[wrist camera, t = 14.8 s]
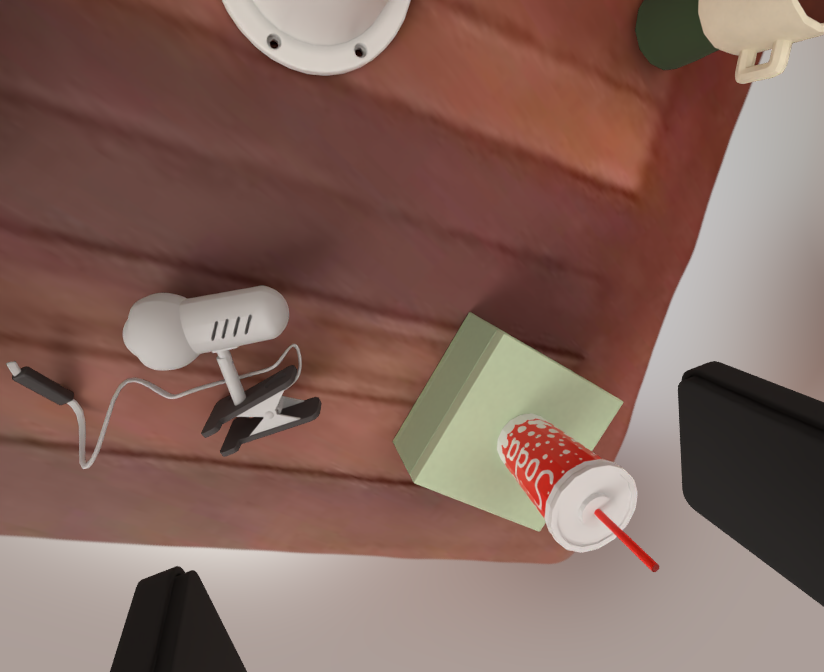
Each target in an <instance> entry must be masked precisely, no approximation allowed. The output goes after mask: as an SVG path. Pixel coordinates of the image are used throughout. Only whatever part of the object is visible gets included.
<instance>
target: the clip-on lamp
mask: <svg viewBox="0 0 824 672" xmlns="http://www.w3.org/2000/svg"><path fill="white" fill-rule="evenodd" d="M288 320H289V309H288V305H287V302H286V301H285V299H284V297H283V296H282V295H281V294H280V293H279V292H278V291H276V290H274V289H272V288H270V287H267V286H263V285H262V286H256V287H251V288H245V289H239V290H234V291H228V292H222V293H217V294H211V295H205V296H200V297H194V298H189V299H187V298H185V297H183V296H180V295H176V294H171V293H156V294H152V295H149V296H147V297H145V298H142V299H140V300H138V301H137V302H136V303H134V305H133V306H132V308H131V309H130V313H129V317H128V320H127V321H126V323H125V325H124V328H123V340H124V343H125V345H126V347H127V348H128V349H129V350H130V351H131V352H132V353H133V354H134V355H136V356H138V358H139V360H140V361H141V362H142V363H143V364H144V365H145V366H147V367H149V368H151V369H155V370H174V369H178V368H182V367H184V366H186V365H188V364H189V363H191V362H192V361H193V360H195V359H196V358H197V357H198V356H199V355H200V354H201V353H206V352H211V351H212V353H216V352H217V354H218V356H217V361H218V364H219V366H220V369H221V371H222V374H223V376H224V380H220V381H217V382H213V383H209V384H206V385H202V386H199V387H196V388H193V389H190V390H187V391H185V392H182V393H180V394H176V395H174V394H171V393H168V392H166V391H165V390H163V389H161V388H160V387H158V386H156V385H154V384H152V383H150V382H148V381H146V380H144V379H140V378H136V377H135V378H128V379H126V380H125V381H124V382H122V383H121V384H120V385H119V387H118V388H117V390H116V392H115V394H114V396H113V398H112V400H111V403H110V406H109V409H108V411H107V414H106V417H105V421H104V424H103V427H102V430H101V433H100V437H99V440H98V443H97V446H96V448H95V450H94V453H93V455H92V457H91V459H90V460H89V461H88V462H86V459H85V439H86V426H85V417H84V413H83V409H82V408H81V406H80V405H79V403H78V402H77V401H76V400H74V399H73V398H74V393H73V392H71V391H70V390H68V389H66V388H64V387H63V386H61V385H59V384H57V383H56V382H54V381H52V380H50V379H49V378H47V377H45V376H43V375H42V374H40V373H38V372H37V371H35V370H33V369H31V368H30V367H23V368H21V369H20V368H19V366H18V364H17V362H16V361H14V362H8V363H6V365H7V366H8V368H9V370H10V371H11V373H12V374H13V375H12V379H13V380H14V381H16V382H18V383H20V384H21V385H23V386H25V387H27V388H29V389H31V390H33V391H34V392H36V393H38V394H40V395H42V396H44V397H46V398H47V399H49V400H51V401H53V402H55V403H57V404H59V405H63V404H66V403H67V404H68V405H70V406H71V407H72V409H73V410H74V412H75V413H76V416H77V420H78V424H79V457H80V464H81V466H82V468H83V469H85V468H89V467H90V466H91V465H92V464H93V462H94V461H95V459H96V457H97V455H98V453H99V451H100V448H101V445H102V442H103V439H104V436H105V433H106V429H107V426H108V422H109V419H110V416H111V413H112V410H113V407H114V404H115V401H116V399H117V397H118V395H119V392H120V390H121V389H122V388H123V387H124V386H125V385H126V384H127V383H131V382H137V383H140V384H143V385H145V386H146V387H148V388H150V389H152V390H153V391H155V392H156V393H158V394H160V395H161V396H163V397H165V398H168V399H176V398H179V397H182V396H185V395H187V394H190V393H193V392H196V391H199V390H202V389H206V388H209V387H213V386H216V385H220V384H223V383H226V384H227V387H228V389H229V392H230V394H231V397H232V398H231V397H230V396H228V397H226V398H224V399H222V400H220V401H218V402H217V403H216V405H215V407H214V409H213V411H212V413H211V414H210V416H209V418H208V420H207V422H206V424H205V426H204V428H203V430H202V432H201V434H202V435H203V436H204V437H205V438H206V437H209V436H211V435H213V434H215V433H216V432H218V431H219V430H220V428H221V426H222V424H224V423H226V422H227V421H229V420H231V419H233V418H234V417H239V418H236V419H235V420H234V421H233V422H232V425H231V427H230V429H229V432H228V434H227V436H226V439H225V441H224V443H223V446H222V448H221V450H220V453H221V454H222V456H224V457H225V456H228V455H231V454H233V453H235V452H237V451H238V450H239V448H240V446H241V444H243V443H246V442H249V441H252V440H256V439H259V438H262V437H265V436H268V435H271V434H274V433H277V432H280V431H283V430H286V429H289V428H292V427H295V426H298V425H301V424H304V423H307V422H310V421H312V420H314V419H316V418H317V417H318V416H319V414H320V410H321V401H320V399H319V398H318V397H314V398H310V399H307V400H300V399H295V398H290V397H285V396H282V394H283V392H284V390H286V389H288V388H289V387H290V386H292V385H293V384H294V383H295V382H296V380H297V379H298V378H299V376H300V373H301V368H302V359H301V353H300V349H299V347H298V346H297V345H296V344H292V345H290V346H289V347H288V348H287V349H286V351H285V352H284V353H283V355H282V356H281V357H280V359H279V360H278V361H277V362H276V363H275V364H274V365H273V366H271V367H268V368H265V369H262V370H258V371H254V372H251V373H247V374H243V375H239V376H238V373H237V371H236V368H235V365H234V363H233V359H232V356H231V354H230V351H229V350H230V349H235V348H238V346H241V345H245V344H250V343H255V342H260V341H265V340H270V339H275V338H276V337H278V336H279V335H280V334H281V333H282V332H283V330H284V329H285V328H286V326H287V323H288ZM292 347H295V348H296V350H297V353H298V359H299V367H298V372H297V369H296V367H295V366H294V365H291V366H288V367H286V368H285V369H283V370H281V371H279V372H278V373H276V374H274V375H272V376H271V377H269V378H267V379H265V380H264V381H262V382H260V383H258V384H257V385H255V386H253V387H251V388H250V389H248V390H246V391H244V389H243V387H242V384H241V381H240V379H242V378H246V377H250V376H253V375H257V374H261V373H264V372H267V371H270V370H272V369H274V368H275V367H277V366H278V365H279V364H280V363H281V361H282V360H283V358H284V357H285V355H286V354H287V352H288V351H289V350H290V349H291V348H292ZM249 417H253V418H249Z"/></svg>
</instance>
